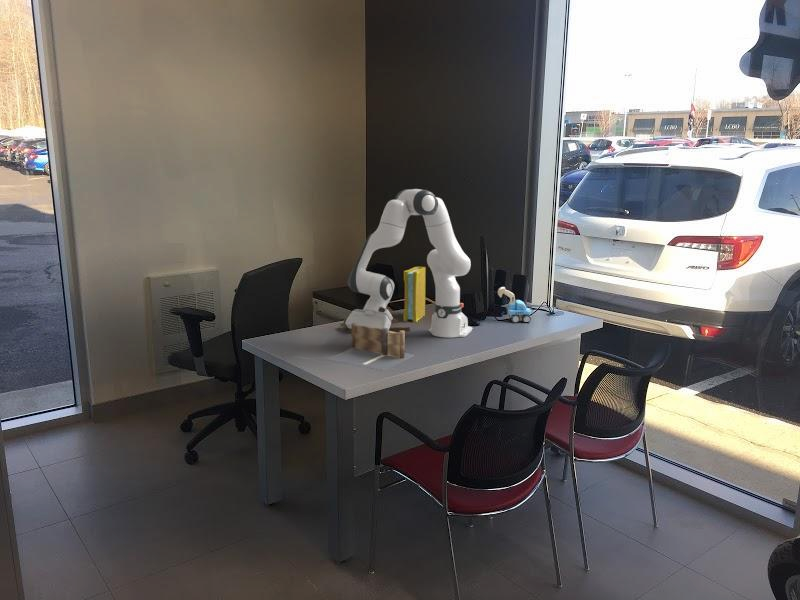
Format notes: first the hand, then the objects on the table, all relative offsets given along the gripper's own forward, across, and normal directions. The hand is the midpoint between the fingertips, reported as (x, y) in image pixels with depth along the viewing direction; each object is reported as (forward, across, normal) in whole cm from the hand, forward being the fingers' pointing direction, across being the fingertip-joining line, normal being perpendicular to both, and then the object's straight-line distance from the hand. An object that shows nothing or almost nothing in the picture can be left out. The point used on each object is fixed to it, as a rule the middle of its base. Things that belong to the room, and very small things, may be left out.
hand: (360, 338), depth 277 cm
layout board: (+9, +10, -2) cm, 14 cm away
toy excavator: (-55, +36, +62) cm, 90 cm away
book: (-41, -9, +48) cm, 63 cm away
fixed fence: (+4, +17, +2) cm, 18 cm away
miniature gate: (-19, -15, +27) cm, 36 cm away
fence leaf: (+4, +4, +2) cm, 6 cm away
